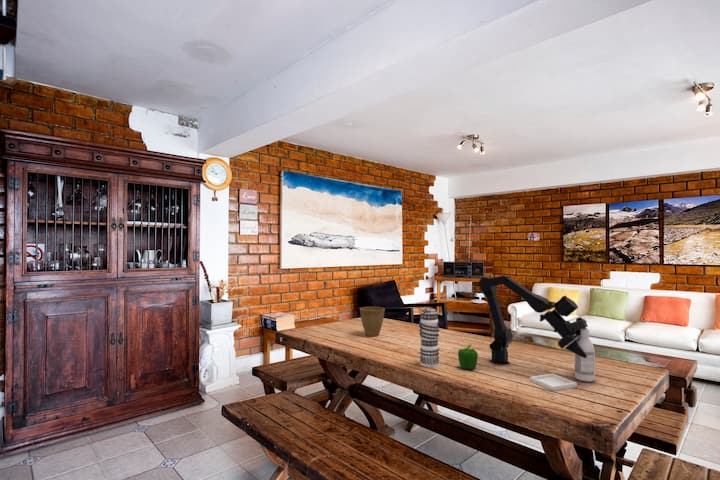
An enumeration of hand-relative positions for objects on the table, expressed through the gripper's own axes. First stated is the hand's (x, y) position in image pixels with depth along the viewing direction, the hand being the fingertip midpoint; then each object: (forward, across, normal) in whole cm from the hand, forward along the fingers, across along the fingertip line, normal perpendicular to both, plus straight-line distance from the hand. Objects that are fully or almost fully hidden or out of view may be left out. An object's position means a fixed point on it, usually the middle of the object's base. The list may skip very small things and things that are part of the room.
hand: (588, 355), depth 158 cm
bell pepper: (-23, -17, +38) cm, 47 cm away
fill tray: (+1, -13, +14) cm, 19 cm away
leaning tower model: (-34, -23, +49) cm, 64 cm away
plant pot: (-73, +2, +89) cm, 115 cm away
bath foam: (+6, 0, +8) cm, 10 cm away
